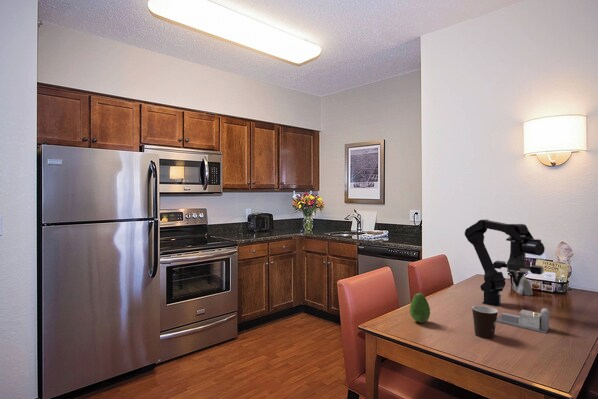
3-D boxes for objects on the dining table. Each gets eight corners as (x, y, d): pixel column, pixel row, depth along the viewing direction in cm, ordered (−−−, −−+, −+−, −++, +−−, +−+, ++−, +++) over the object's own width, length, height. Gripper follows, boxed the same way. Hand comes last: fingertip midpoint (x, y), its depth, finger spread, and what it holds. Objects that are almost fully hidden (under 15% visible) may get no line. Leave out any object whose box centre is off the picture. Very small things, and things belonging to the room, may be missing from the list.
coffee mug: (487, 341, 127) (488, 314, 126) (466, 333, 134) (467, 307, 134) (507, 335, 132) (507, 309, 132) (485, 327, 140) (486, 303, 139)
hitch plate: (494, 321, 147) (494, 301, 146) (499, 316, 152) (500, 297, 152) (547, 333, 134) (547, 311, 134) (551, 328, 139) (551, 306, 139)
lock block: (518, 325, 141) (518, 311, 141) (522, 321, 146) (522, 308, 145) (539, 330, 136) (539, 315, 136) (542, 325, 141) (542, 312, 141)
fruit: (415, 317, 151) (415, 289, 151) (433, 322, 146) (433, 293, 145) (406, 322, 146) (406, 293, 145) (424, 327, 140) (424, 297, 140)
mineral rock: (513, 288, 197) (514, 270, 197) (536, 292, 190) (536, 273, 190) (508, 293, 188) (508, 274, 188) (531, 297, 180) (532, 278, 180)
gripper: (489, 251, 157) (488, 285, 158) (538, 257, 144) (538, 294, 145) (496, 248, 165) (496, 281, 166) (544, 253, 152) (543, 288, 153)
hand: (517, 286), depth 157 cm, fingers closed
